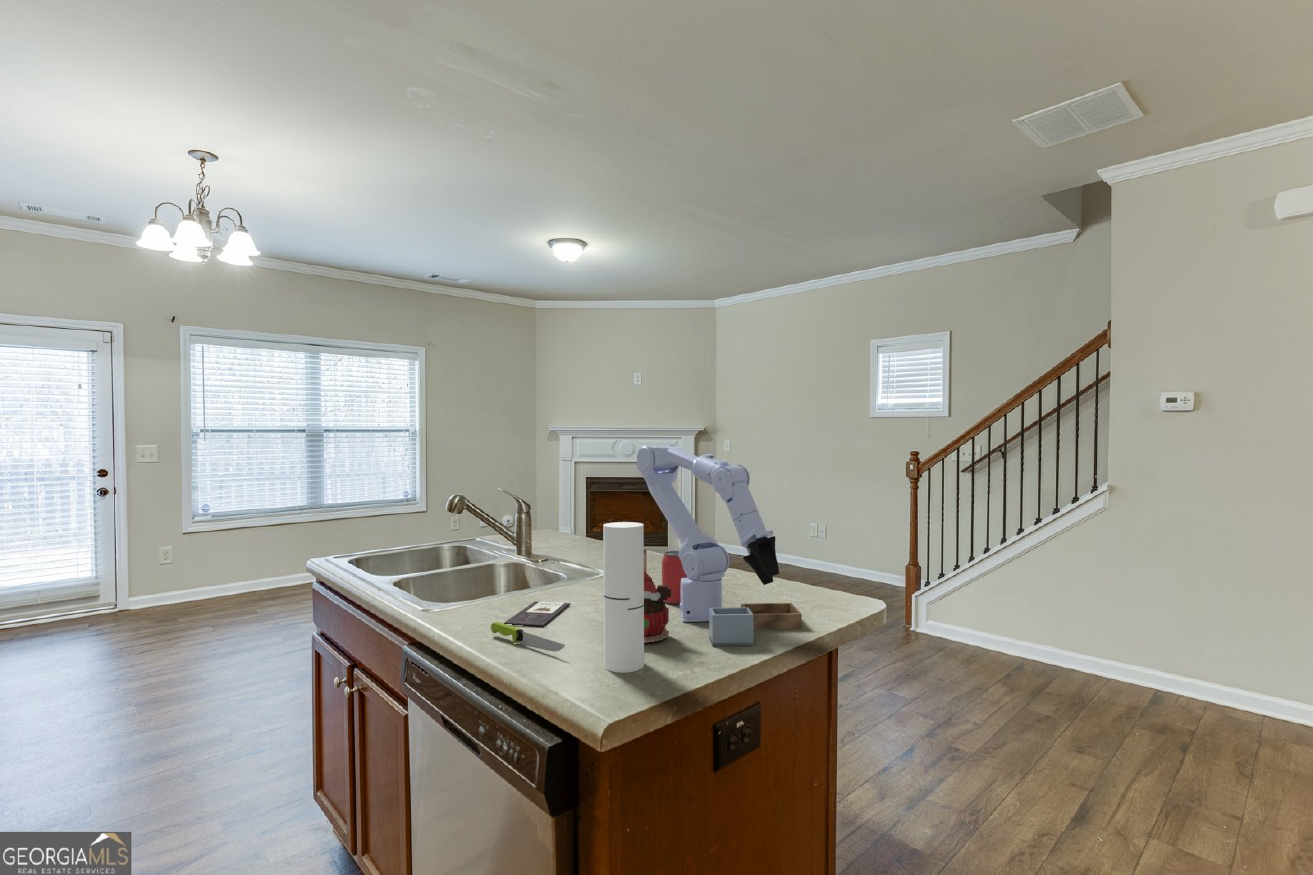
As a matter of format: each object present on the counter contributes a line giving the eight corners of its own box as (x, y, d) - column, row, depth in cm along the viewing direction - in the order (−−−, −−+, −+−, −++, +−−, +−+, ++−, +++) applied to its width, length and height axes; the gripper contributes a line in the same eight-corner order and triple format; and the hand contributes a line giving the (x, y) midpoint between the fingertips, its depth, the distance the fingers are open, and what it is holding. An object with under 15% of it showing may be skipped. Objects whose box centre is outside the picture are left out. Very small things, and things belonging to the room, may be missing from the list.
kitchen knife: (567, 659, 116) (567, 643, 116) (562, 661, 115) (562, 645, 115) (495, 635, 130) (495, 620, 130) (490, 636, 129) (490, 622, 129)
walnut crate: (748, 631, 133) (748, 614, 133) (740, 619, 142) (740, 603, 142) (801, 630, 133) (801, 614, 133) (791, 618, 142) (791, 602, 142)
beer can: (689, 598, 159) (689, 550, 159) (687, 605, 152) (687, 555, 152) (663, 597, 159) (662, 550, 159) (660, 604, 153) (660, 555, 153)
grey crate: (712, 646, 122) (712, 615, 122) (709, 637, 127) (709, 607, 127) (753, 645, 122) (753, 614, 122) (748, 636, 128) (748, 607, 128)
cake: (674, 632, 131) (674, 545, 131) (667, 647, 122) (667, 554, 122) (624, 629, 133) (623, 544, 133) (613, 644, 124) (613, 552, 124)
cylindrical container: (603, 658, 115) (603, 522, 115) (642, 657, 116) (642, 521, 116) (603, 673, 108) (603, 527, 108) (645, 671, 109) (644, 527, 109)
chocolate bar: (503, 622, 136) (534, 601, 154) (503, 627, 136) (534, 605, 154) (543, 625, 135) (570, 603, 152) (543, 629, 135) (570, 607, 152)
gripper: (769, 500, 126) (796, 564, 120) (759, 521, 139) (783, 580, 134) (735, 511, 125) (762, 576, 120) (729, 531, 138) (752, 591, 133)
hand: (771, 579), depth 126 cm, fingers open, 7 cm apart
